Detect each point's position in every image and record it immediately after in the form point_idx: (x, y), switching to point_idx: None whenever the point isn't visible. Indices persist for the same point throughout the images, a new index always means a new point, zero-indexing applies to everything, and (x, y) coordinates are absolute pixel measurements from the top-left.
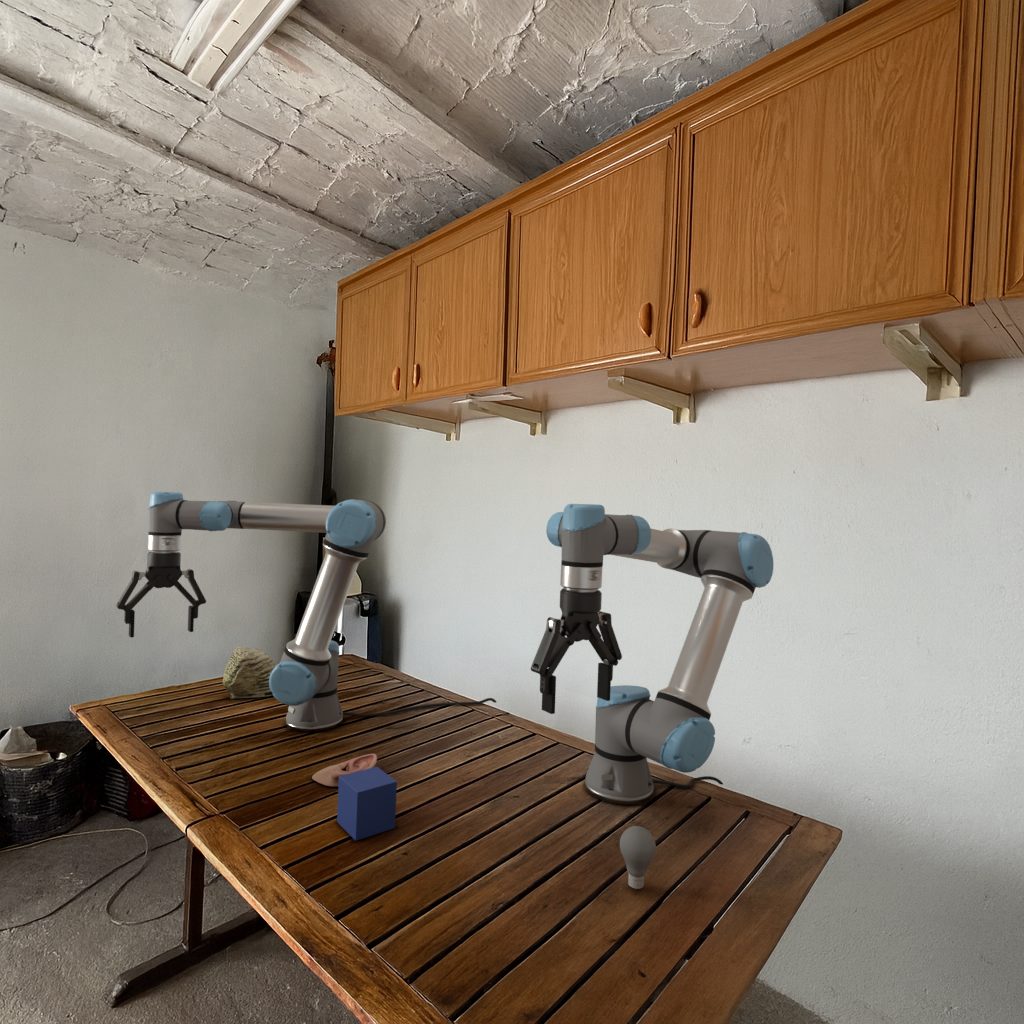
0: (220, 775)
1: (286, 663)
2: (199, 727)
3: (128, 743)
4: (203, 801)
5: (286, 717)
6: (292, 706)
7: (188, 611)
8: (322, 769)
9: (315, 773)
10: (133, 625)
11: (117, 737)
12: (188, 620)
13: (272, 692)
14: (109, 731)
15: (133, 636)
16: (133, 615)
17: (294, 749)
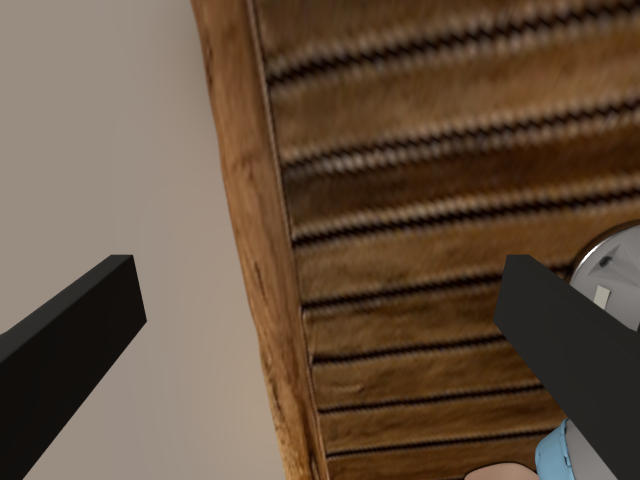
0: (365, 409)
1: None
2: (411, 172)
3: (254, 193)
4: (321, 463)
5: (582, 276)
6: (608, 307)
7: (622, 354)
8: (488, 476)
9: (474, 478)
10: (95, 377)
11: (234, 138)
12: (551, 307)
13: (539, 457)
14: (218, 78)
15: (142, 322)
16: (26, 458)
17: (506, 379)
